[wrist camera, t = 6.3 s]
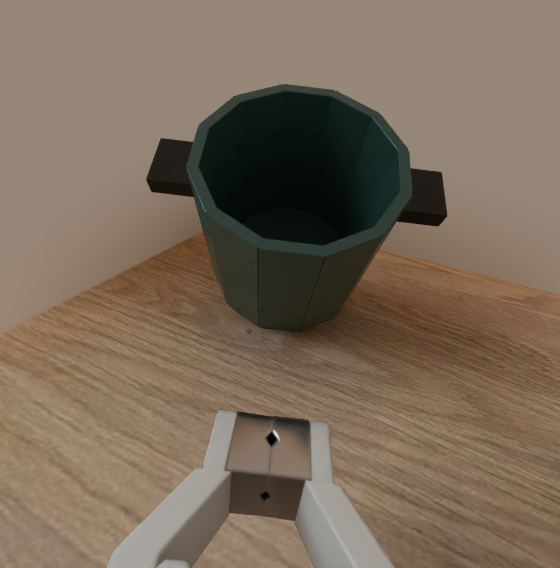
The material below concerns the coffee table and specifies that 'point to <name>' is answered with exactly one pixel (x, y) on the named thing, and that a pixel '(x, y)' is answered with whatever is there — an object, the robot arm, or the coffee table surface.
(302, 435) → the robot arm
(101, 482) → the coffee table surface
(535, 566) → the coffee table surface
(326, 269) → the pot
